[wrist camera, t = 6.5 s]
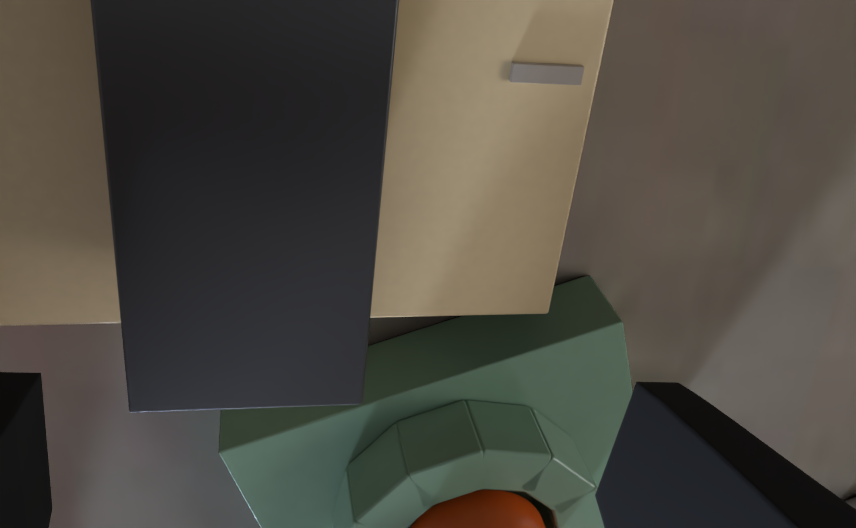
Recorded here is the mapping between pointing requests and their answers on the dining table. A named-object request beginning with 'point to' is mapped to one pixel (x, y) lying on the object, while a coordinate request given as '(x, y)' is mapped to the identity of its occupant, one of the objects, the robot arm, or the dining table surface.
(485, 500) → the button
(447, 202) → the wooden stand
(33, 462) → the robot arm
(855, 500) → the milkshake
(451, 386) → the button box
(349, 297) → the box
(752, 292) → the dining table surface
